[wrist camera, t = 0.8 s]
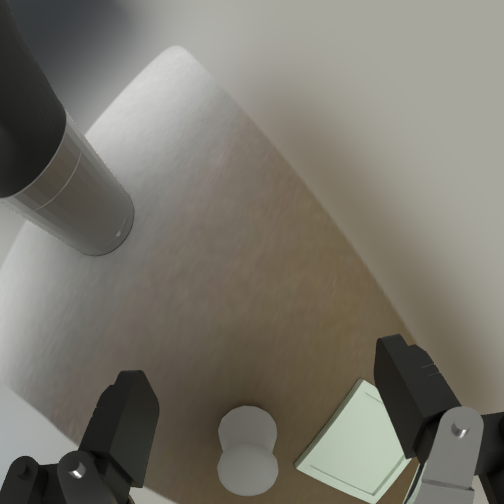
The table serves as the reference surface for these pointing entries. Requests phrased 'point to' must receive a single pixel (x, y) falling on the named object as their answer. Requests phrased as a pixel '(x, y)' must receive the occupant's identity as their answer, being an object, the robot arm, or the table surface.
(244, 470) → the salt shaker
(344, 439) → the tray
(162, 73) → the table surface
